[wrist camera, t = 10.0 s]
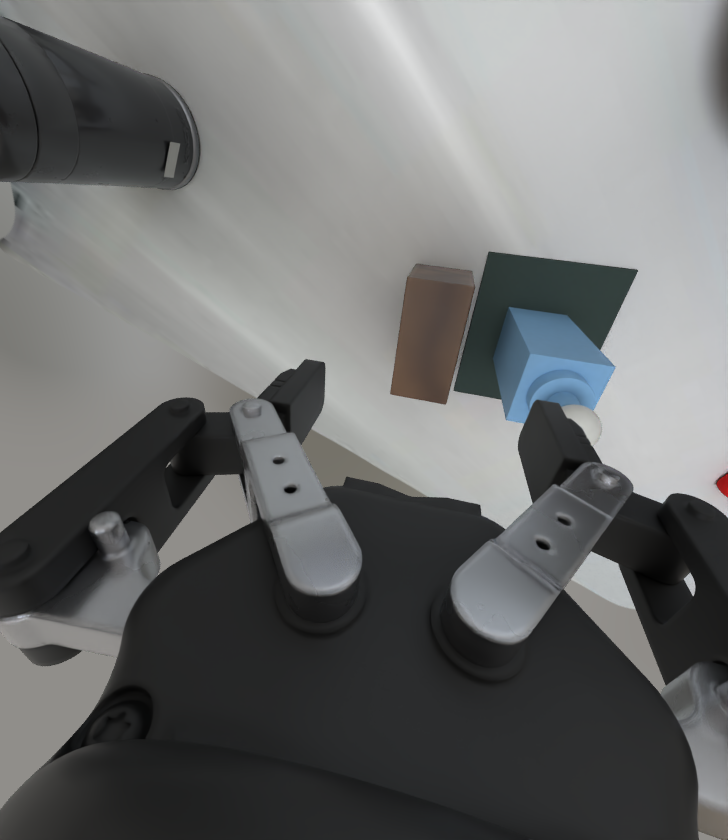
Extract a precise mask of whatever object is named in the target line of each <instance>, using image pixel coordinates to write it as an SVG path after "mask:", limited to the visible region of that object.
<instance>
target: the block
mask: <svg viewBox="0 0 728 840" xmlns="http://www.w3.org/2000/svg"><path fill="white" fill-rule="evenodd" d="M474 289H475V284H474V279H473V273H472V271H467V270H460V269H452V268H444V267H437V266H429V265H421V264H416V265H415V267H414V268H413V270H412V271H411V273H410V274H409V276H408V277H407V282H406V289H405V295H404V302H403V309H402V316H401V323H400V330H399V337H398V344H397V351H396V358H395V364H394V371H393V378H392V385H391V392H390V394H392V395H397V396H403V397H408V398H413V399H419V400H424V401H429V402H435V403H440V404H446V403H447V399H448V395H449V391H450V386H451V382H452V378H453V374H454V370H455V366H456V362H457V358H458V354H459V350H460V346H461V342H462V338H463V334H464V330H465V326H466V322H467V318H468V314H469V310H470V306H471V301H472V297H473V293H474Z"/></svg>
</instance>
